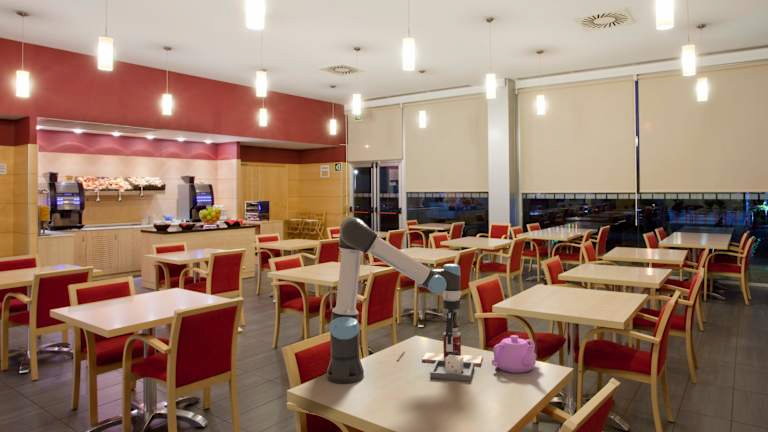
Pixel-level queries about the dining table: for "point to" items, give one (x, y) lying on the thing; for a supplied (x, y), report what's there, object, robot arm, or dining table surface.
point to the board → (437, 356)
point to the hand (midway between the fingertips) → (451, 346)
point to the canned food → (455, 344)
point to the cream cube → (454, 364)
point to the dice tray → (439, 373)
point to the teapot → (514, 355)
